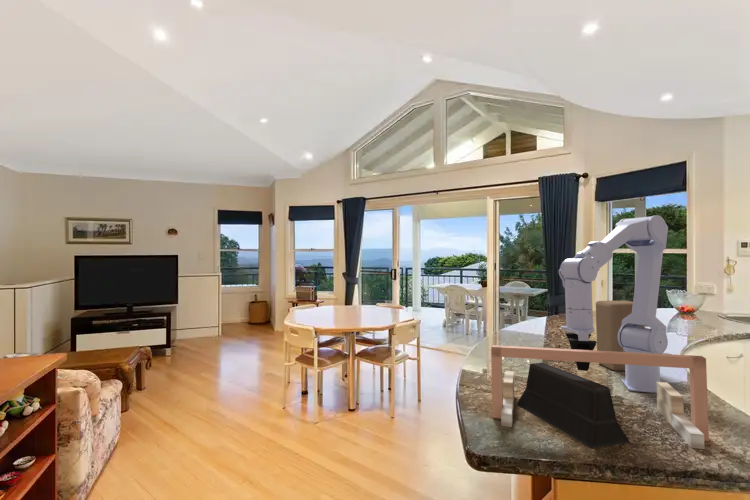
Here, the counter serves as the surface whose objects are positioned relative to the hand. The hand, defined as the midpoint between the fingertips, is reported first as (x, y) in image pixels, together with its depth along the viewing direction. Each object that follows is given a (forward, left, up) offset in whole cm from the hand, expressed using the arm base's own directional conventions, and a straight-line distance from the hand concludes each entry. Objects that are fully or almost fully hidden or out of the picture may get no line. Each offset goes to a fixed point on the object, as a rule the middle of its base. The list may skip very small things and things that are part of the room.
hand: (580, 366), depth 98 cm
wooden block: (-37, +15, -8) cm, 41 cm away
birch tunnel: (+11, 0, -8) cm, 14 cm away
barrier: (+14, -5, -9) cm, 17 cm away
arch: (+16, 0, -8) cm, 18 cm away
